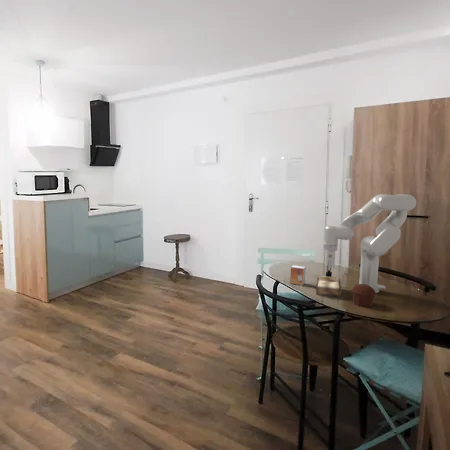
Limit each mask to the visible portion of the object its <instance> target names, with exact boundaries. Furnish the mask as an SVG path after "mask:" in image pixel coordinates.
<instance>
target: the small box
mask: <svg viewBox="0 0 450 450" xmlns="http://www.w3.org/2000/svg"><path fill="white" fill-rule="evenodd" d="M306 268H307V266H300V265H295V264H294V265H292V266H290V275H289V278H290V279H289V284H294V285H296V286H297V285H298V286H303V285H304V284H305V283H306V273H307V272H306V270H307V269H306Z"/></svg>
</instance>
